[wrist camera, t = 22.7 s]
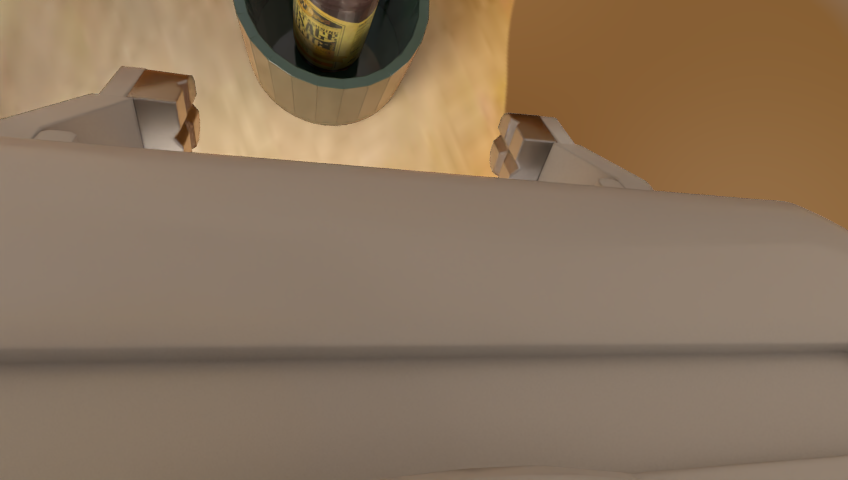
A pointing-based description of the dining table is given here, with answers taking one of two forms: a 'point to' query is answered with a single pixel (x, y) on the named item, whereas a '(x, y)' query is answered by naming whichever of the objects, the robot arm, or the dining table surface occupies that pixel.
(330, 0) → the sauce bottle
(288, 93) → the bottle cooler
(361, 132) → the dining table surface
